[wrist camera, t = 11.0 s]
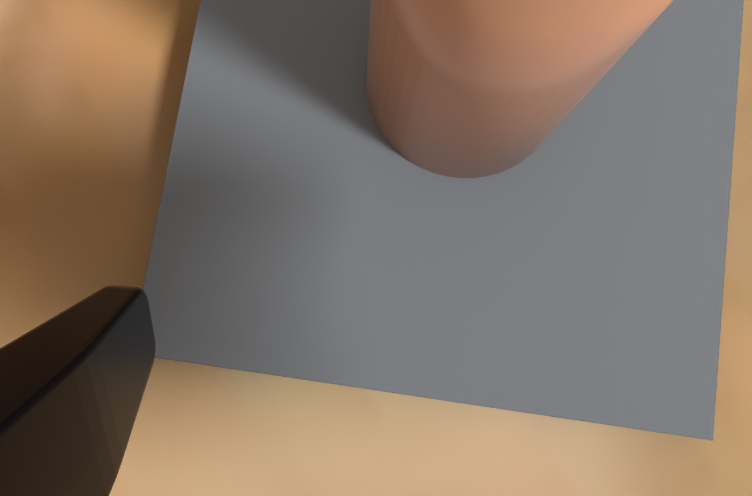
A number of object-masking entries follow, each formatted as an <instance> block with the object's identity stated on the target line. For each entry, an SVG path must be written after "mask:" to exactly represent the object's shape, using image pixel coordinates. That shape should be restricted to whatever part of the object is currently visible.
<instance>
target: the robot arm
mask: <svg viewBox="0 0 752 496" xmlns="http://www.w3.org/2000/svg"><path fill="white" fill-rule="evenodd" d="M155 350H156V342H155V336H154V330H153V324H152V318H151V312H150V307H149V301H148V297H147V295H146V293H145V291H143V290H142V289H140V288H135V287H125V286H107V287H105V288H103V289H101V290H99V291H97V292H96V293H94V294H92V295H91V296H89V297H87V298H85V299H84V300H82V301H80V302H79V303H77V304H75V305H74V306H72V307H70V308H68V309H67V310H65V311H63V312H62V313H60V314H58V315H57V316H55V317H53V318H51V319H50V320H48V321H46V322H45V323H43V324H41V325H39V326H38V327H36V328H34V329H33V330H31V331H29V332H28V333H26V334H24V335H22V336H21V337H19V338H17V339H16V340H14V341H12V342H11V343H9V344H7V345H5V346H4V347H2V348H0V496H109V494H110V491H111V489H112V487H113V484H114V482H115V479H116V477H117V474H118V471H119V468H120V465H121V463H122V460H123V457H124V453H125V450H126V447H127V444H128V441H129V438H130V435H131V431H132V428H133V425H134V422H135V419H136V416H137V412H138V409H139V406H140V403H141V400H142V397H143V394H144V390H145V387H146V384H147V381H148V378H149V375H150V371H151V368H152V365H153V362H154V357H155Z"/></svg>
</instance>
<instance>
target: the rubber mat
mask: <svg viewBox="0 0 752 496" xmlns="http://www.w3.org/2000/svg"><path fill="white" fill-rule="evenodd" d="M370 2H371V0H201V1H200V6H199V11H198V16H197V21H196V26H195V31H194V36H193V41H192V46H191V51H190V56H189V61H188V66H187V71H186V76H185V81H184V86H183V91H182V96H181V101H180V106H179V111H178V116H177V121H176V126H175V131H174V136H173V141H172V146H171V151H170V156H169V161H168V166H167V171H166V176H165V181H164V186H163V191H162V196H161V201H160V206H159V211H158V216H157V221H156V226H155V231H154V236H153V241H152V246H151V251H150V256H149V261H148V266H147V271H146V276H145V281H144V286H143V291H145V293H146V295H147V297H148V301H149V307H150V312H151V318H152V324H153V330H154V336H155V342H156V350H155V357H156V358H162V359H169V360H176V361H182V362H189V363H196V364H203V365H209V366H216V367H223V368H229V369H236V370H243V371H250V372H256V373H263V374H270V375H277V376H283V377H290V378H297V379H303V380H310V381H317V382H324V383H330V384H337V385H344V386H350V387H357V388H364V389H371V390H377V391H384V392H391V393H397V394H404V395H411V396H418V397H424V398H431V399H438V400H444V401H451V402H458V403H465V404H471V405H478V406H485V407H491V408H498V409H505V410H512V411H518V412H525V413H532V414H538V415H545V416H552V417H559V418H565V419H572V420H579V421H586V422H592V423H599V424H606V425H612V426H619V427H626V428H633V429H639V430H646V431H653V432H659V433H666V434H673V435H680V436H686V437H693V438H700V439H706V440H713V429H714V415H715V401H716V387H717V372H718V358H719V344H720V330H721V315H722V301H723V287H724V273H725V258H726V244H727V230H728V216H729V201H730V187H731V173H732V159H733V144H734V130H735V116H736V102H737V87H738V73H739V59H740V45H741V31H742V16H743V2H744V0H673V2H672V3H671V4H670V5H669V6H668V7H667V8H666V9H665V10H664V11H663V12H662V13H661V15H660V16H659V17H658V18H657V19H656V20H655V21H654V22H653V23H652V24H651V25H650V26H649V28H648V29H647V30H646V31H645V32H644V33H643V34H642V35H641V36H640V37H639V38H638V39H637V41H636V42H635V43H634V44H633V45H632V46H631V47H630V48H629V49H628V50H627V51H626V52H625V54H624V55H623V56H622V57H621V58H620V59H619V60H618V61H617V62H616V63H615V64H614V66H613V67H612V68H611V69H610V70H609V71H608V72H607V73H606V74H605V75H604V76H603V77H602V79H601V80H600V81H599V82H598V83H597V84H596V85H595V86H594V87H593V88H592V89H591V90H590V92H589V93H588V94H587V95H586V96H585V97H584V98H583V99H582V100H581V101H580V102H579V103H578V105H577V106H576V107H575V108H574V109H573V110H572V111H571V112H570V113H569V114H568V115H567V116H566V118H565V119H564V120H563V121H562V122H561V123H560V124H559V125H558V126H557V127H556V128H555V129H554V131H553V132H552V133H551V134H550V135H549V136H548V137H547V138H546V139H545V140H544V141H543V143H542V144H541V145H540V146H539V147H538V148H537V149H536V150H535V151H534V152H533V153H532V154H531V155H530V156H528V157H527V158H526V159H524V160H523V161H522V162H520V163H519V164H517V165H515V166H513V167H512V168H510V169H507V170H505V171H502V172H500V173H497V174H493V175H490V176H486V177H478V178H456V177H448V176H444V175H440V174H436V173H433V172H430V171H428V170H426V169H423V168H421V167H419V166H417V165H416V164H414V163H412V162H410V161H409V160H408V159H406V158H405V157H404V156H402V155H401V154H400V153H399V152H398V151H397V150H395V149H394V148H393V147H392V146H391V145H390V143H389V142H388V141H387V140H386V138H385V137H384V136H383V135H382V133H381V131H380V130H379V128H378V126H377V125H376V123H375V120H374V118H373V116H372V114H371V111H370V107H369V104H368V100H367V93H366V63H367V48H368V33H369V18H370Z"/></svg>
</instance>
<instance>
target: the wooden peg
mask: <svg viewBox="0 0 752 496" xmlns="http://www.w3.org/2000/svg"><path fill="white" fill-rule="evenodd" d="M672 2H673V0H371V2H370V18H369V33H368V48H367V63H366V93H367V100H368V104H369V107H370V111H371V114H372V116H373V118H374V120H375V123H376V125H377V126H378V128H379V130H380V131H381V133H382V135H383V136H384V137H385V138H386V140H387V141H388V142H389V143H390V145H391V146H392V147H393V148H394V149H395V150H397V151H398V152H399V153H400V154H401V155H402V156H404V157H405V158H406V159H408V160H409V161H410V162H412V163H414V164H416V165H417V166H419V167H421V168H423V169H426V170H428V171H430V172H433V173H436V174H440V175H444V176H448V177H456V178H478V177H486V176H490V175H493V174H497V173H500V172H502V171H505V170H507V169H510V168H512V167H513V166H515V165H517V164H519V163H520V162H522V161H523V160H524V159H526V158H527V157H528V156H530V155H531V154H532V153H533V152H534V151H535V150H536V149H537V148H538V147H539V146H540V145H541V144H542V143H543V141H544V140H545V139H546V138H547V137H548V136H549V135H550V134H551V133H552V132H553V131H554V129H555V128H556V127H557V126H558V125H559V124H560V123H561V122H562V121H563V120H564V119H565V118H566V116H567V115H568V114H569V113H570V112H571V111H572V110H573V109H574V108H575V107H576V106H577V105H578V103H579V102H580V101H581V100H582V99H583V98H584V97H585V96H586V95H587V94H588V93H589V92H590V90H591V89H592V88H593V87H594V86H595V85H596V84H597V83H598V82H599V81H600V80H601V79H602V77H603V76H604V75H605V74H606V73H607V72H608V71H609V70H610V69H611V68H612V67H613V66H614V64H615V63H616V62H617V61H618V60H619V59H620V58H621V57H622V56H623V55H624V54H625V52H626V51H627V50H628V49H629V48H630V47H631V46H632V45H633V44H634V43H635V42H636V41H637V39H638V38H639V37H640V36H641V35H642V34H643V33H644V32H645V31H646V30H647V29H648V28H649V26H650V25H651V24H652V23H653V22H654V21H655V20H656V19H657V18H658V17H659V16H660V15H661V13H662V12H663V11H664V10H665V9H666V8H667V7H668V6H669V5H670V4H671V3H672Z"/></svg>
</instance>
